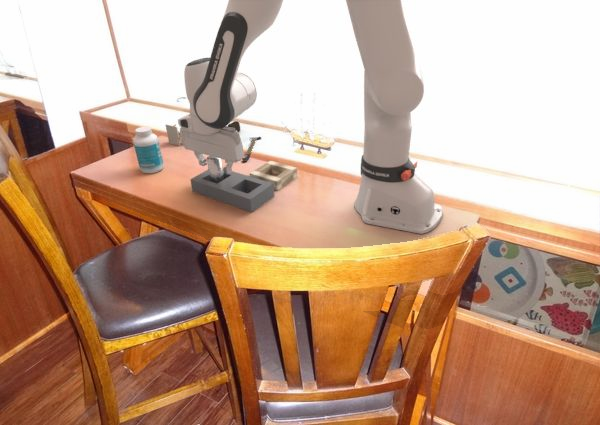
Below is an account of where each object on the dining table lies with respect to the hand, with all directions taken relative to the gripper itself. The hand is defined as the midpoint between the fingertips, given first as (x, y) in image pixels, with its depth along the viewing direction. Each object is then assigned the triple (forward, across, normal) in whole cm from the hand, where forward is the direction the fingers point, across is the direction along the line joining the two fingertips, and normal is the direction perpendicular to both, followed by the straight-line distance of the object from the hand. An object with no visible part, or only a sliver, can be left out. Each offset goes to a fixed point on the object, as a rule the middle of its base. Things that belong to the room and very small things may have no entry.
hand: (215, 168), depth 123 cm
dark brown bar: (+7, +24, -29) cm, 38 cm away
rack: (+7, -6, 0) cm, 9 cm away
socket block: (+7, -10, -13) cm, 18 cm away
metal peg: (+7, 0, 0) cm, 7 cm away
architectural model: (+7, +36, -17) cm, 41 cm away
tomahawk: (+7, +11, -26) cm, 29 cm away
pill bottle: (+7, +28, +1) cm, 28 cm away
